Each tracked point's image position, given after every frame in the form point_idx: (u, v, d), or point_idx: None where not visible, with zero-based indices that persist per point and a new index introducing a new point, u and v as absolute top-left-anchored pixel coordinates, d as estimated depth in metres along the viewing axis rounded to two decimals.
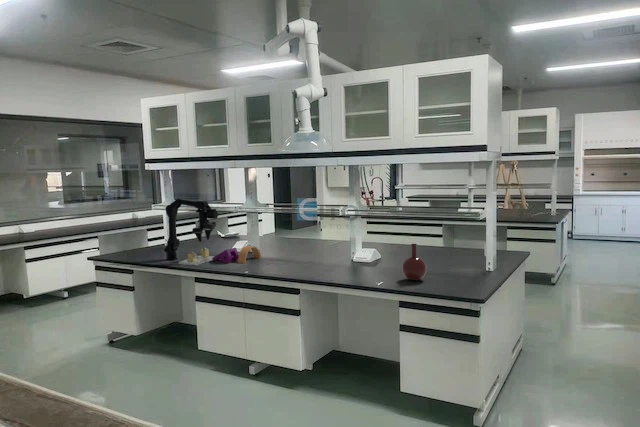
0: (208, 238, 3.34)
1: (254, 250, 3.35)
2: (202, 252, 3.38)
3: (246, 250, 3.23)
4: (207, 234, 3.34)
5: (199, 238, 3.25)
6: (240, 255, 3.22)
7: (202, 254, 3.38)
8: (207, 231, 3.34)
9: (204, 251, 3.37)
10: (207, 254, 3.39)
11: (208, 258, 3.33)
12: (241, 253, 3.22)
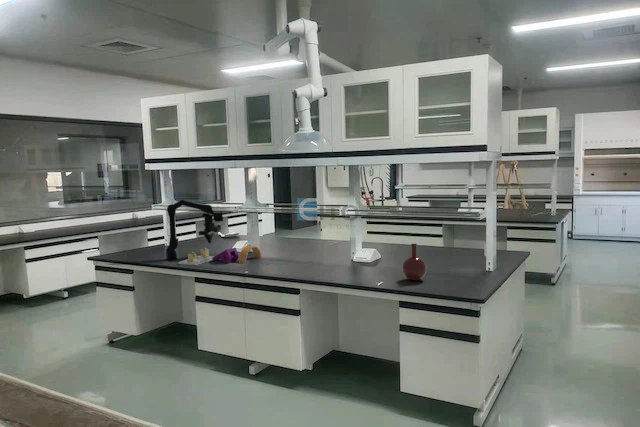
0: (210, 241, 3.45)
1: (255, 250, 3.35)
2: (202, 252, 3.38)
3: (247, 250, 3.23)
4: None
5: (208, 240, 3.44)
6: (241, 255, 3.22)
7: (202, 254, 3.38)
8: None
9: (204, 251, 3.37)
10: (207, 254, 3.39)
11: (208, 258, 3.33)
12: (242, 253, 3.23)
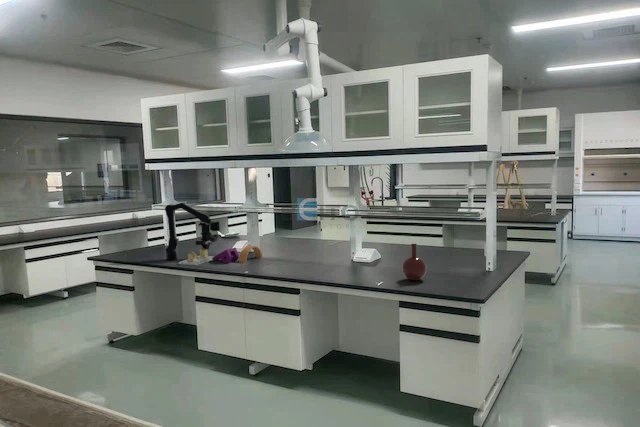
0: None
1: (255, 250, 3.36)
2: (201, 252, 3.36)
3: (247, 250, 3.24)
4: None
5: None
6: (241, 255, 3.23)
7: (201, 254, 3.36)
8: None
9: (203, 251, 3.36)
10: (206, 255, 3.38)
11: (208, 258, 3.33)
12: (242, 253, 3.23)
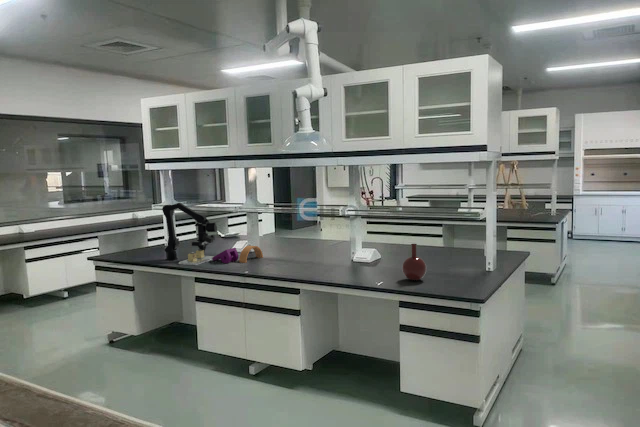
0: None
1: (256, 250, 3.36)
2: (197, 254, 3.32)
3: (247, 250, 3.24)
4: None
5: None
6: (241, 255, 3.23)
7: (197, 256, 3.32)
8: None
9: (199, 252, 3.31)
10: (203, 256, 3.34)
11: (208, 258, 3.33)
12: (243, 253, 3.24)
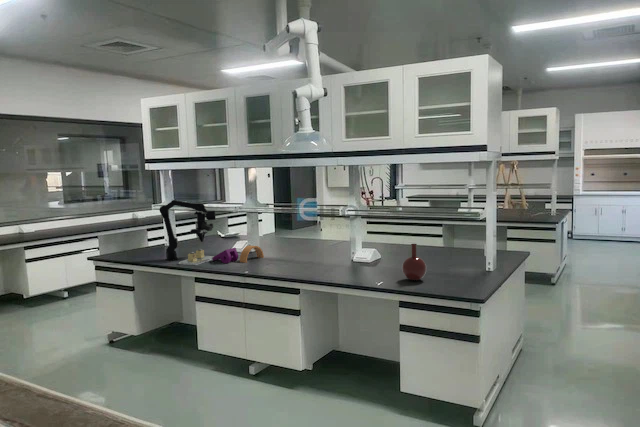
0: (202, 240, 3.43)
1: (257, 250, 3.36)
2: (197, 254, 3.32)
3: (248, 250, 3.25)
4: None
5: (200, 238, 3.42)
6: (242, 254, 3.24)
7: (197, 256, 3.32)
8: None
9: (199, 252, 3.31)
10: (203, 256, 3.34)
11: (208, 258, 3.33)
12: (243, 253, 3.24)
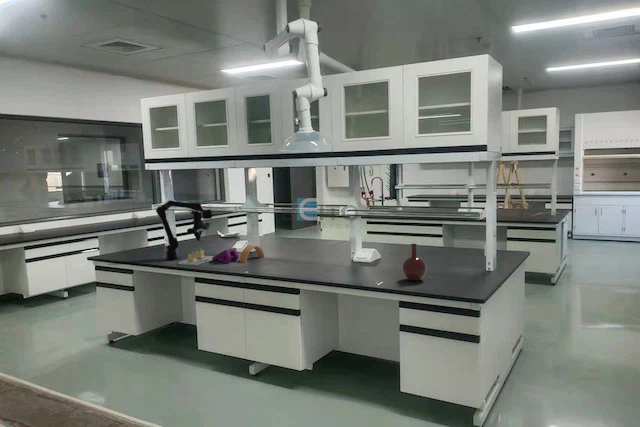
0: (199, 239, 3.47)
1: (257, 250, 3.37)
2: (197, 254, 3.32)
3: (248, 249, 3.25)
4: None
5: (197, 237, 3.46)
6: (242, 254, 3.24)
7: (197, 256, 3.32)
8: None
9: (199, 252, 3.31)
10: (203, 256, 3.34)
11: (208, 258, 3.33)
12: (243, 253, 3.25)
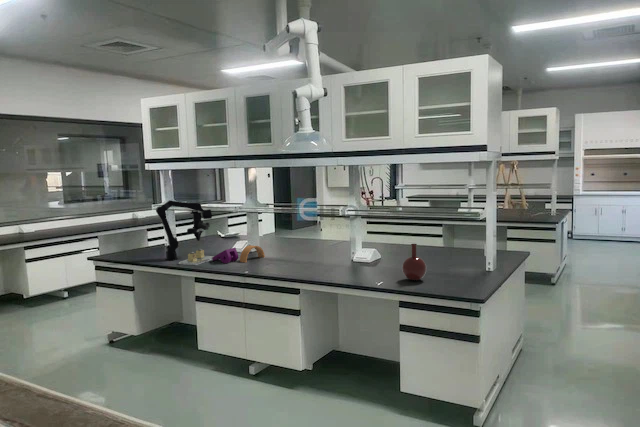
0: (199, 239, 3.47)
1: (258, 250, 3.37)
2: (197, 254, 3.32)
3: (248, 249, 3.25)
4: None
5: (197, 237, 3.46)
6: (242, 254, 3.25)
7: (197, 256, 3.32)
8: None
9: (199, 252, 3.31)
10: (203, 256, 3.34)
11: (208, 258, 3.33)
12: (243, 253, 3.25)
